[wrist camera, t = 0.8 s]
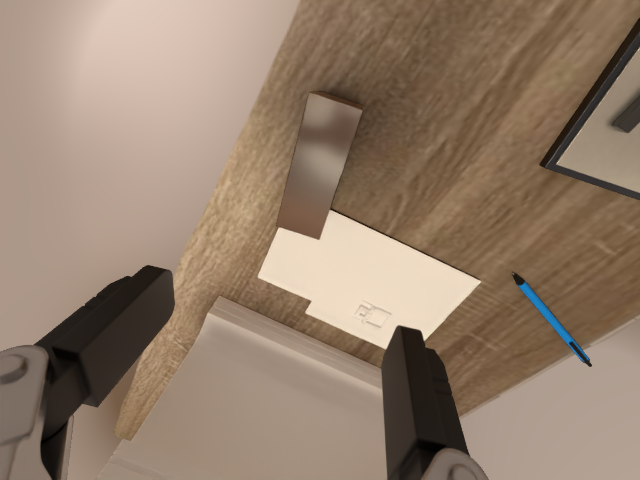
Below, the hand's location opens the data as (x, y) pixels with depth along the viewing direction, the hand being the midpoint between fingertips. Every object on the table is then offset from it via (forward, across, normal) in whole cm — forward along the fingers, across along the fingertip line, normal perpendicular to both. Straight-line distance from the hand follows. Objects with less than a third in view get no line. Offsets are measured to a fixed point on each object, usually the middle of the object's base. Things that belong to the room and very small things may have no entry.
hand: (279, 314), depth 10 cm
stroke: (+22, -23, -10) cm, 34 cm away
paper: (+23, -6, +15) cm, 29 cm away
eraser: (+23, +1, 0) cm, 23 cm away
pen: (+24, -30, +14) cm, 41 cm away
